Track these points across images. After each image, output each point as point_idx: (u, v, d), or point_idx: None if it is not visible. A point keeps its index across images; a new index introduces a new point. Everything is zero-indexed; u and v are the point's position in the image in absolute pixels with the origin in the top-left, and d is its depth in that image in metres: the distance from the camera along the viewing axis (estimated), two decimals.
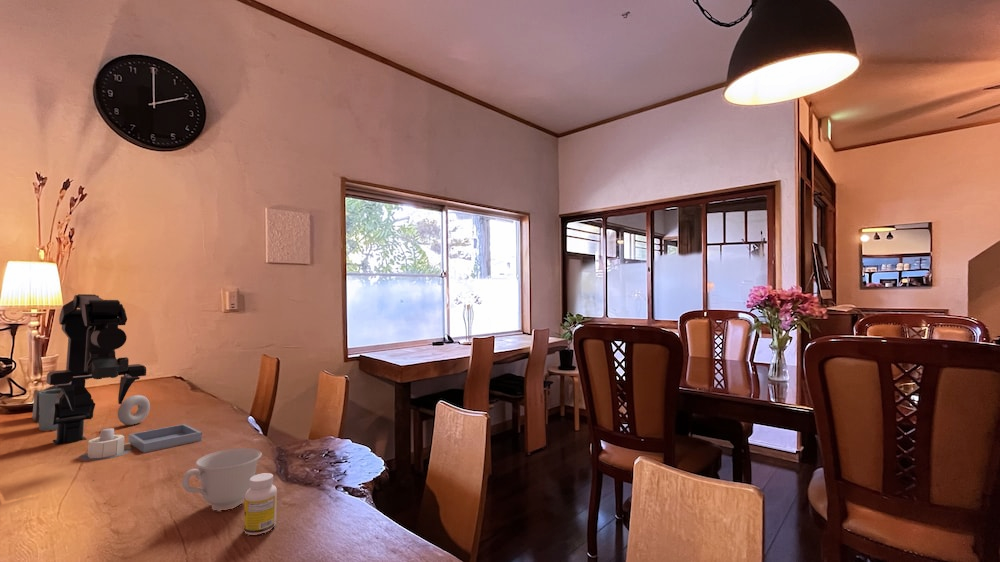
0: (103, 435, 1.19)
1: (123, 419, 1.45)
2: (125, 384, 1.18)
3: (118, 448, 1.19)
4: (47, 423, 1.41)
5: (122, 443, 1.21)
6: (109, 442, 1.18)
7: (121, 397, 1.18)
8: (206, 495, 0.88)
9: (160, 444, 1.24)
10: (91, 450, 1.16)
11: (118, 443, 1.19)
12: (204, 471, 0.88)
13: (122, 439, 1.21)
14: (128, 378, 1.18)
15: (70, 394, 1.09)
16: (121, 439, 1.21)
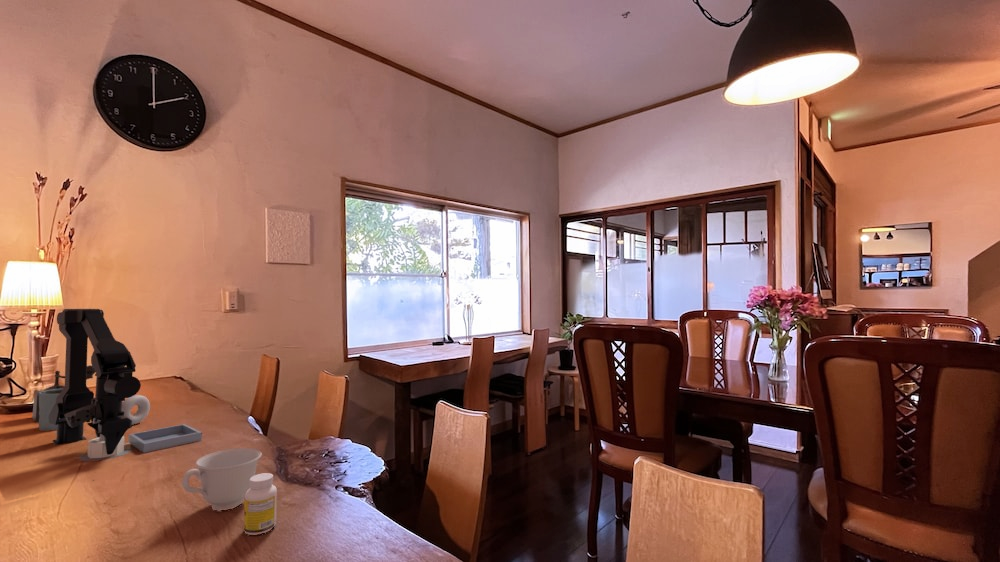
0: None
1: None
2: (103, 435, 1.16)
3: (118, 448, 1.19)
4: (47, 423, 1.41)
5: (122, 443, 1.21)
6: None
7: (106, 448, 1.17)
8: (206, 495, 0.88)
9: (160, 444, 1.24)
10: (91, 450, 1.16)
11: (118, 443, 1.19)
12: (204, 471, 0.88)
13: (122, 439, 1.21)
14: None
15: (96, 433, 1.21)
16: (121, 439, 1.21)
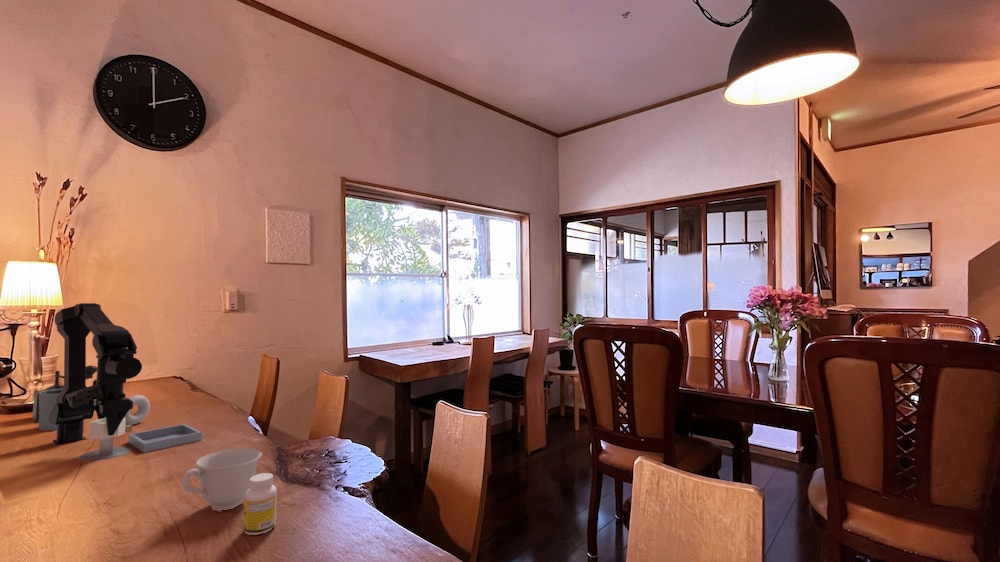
0: None
1: None
2: (105, 416, 1.16)
3: (119, 430, 1.20)
4: (47, 423, 1.41)
5: (123, 425, 1.21)
6: None
7: (107, 429, 1.17)
8: (206, 495, 0.88)
9: (160, 444, 1.24)
10: (92, 431, 1.16)
11: (119, 425, 1.20)
12: (204, 471, 0.88)
13: (123, 421, 1.21)
14: None
15: (97, 415, 1.22)
16: (122, 421, 1.21)
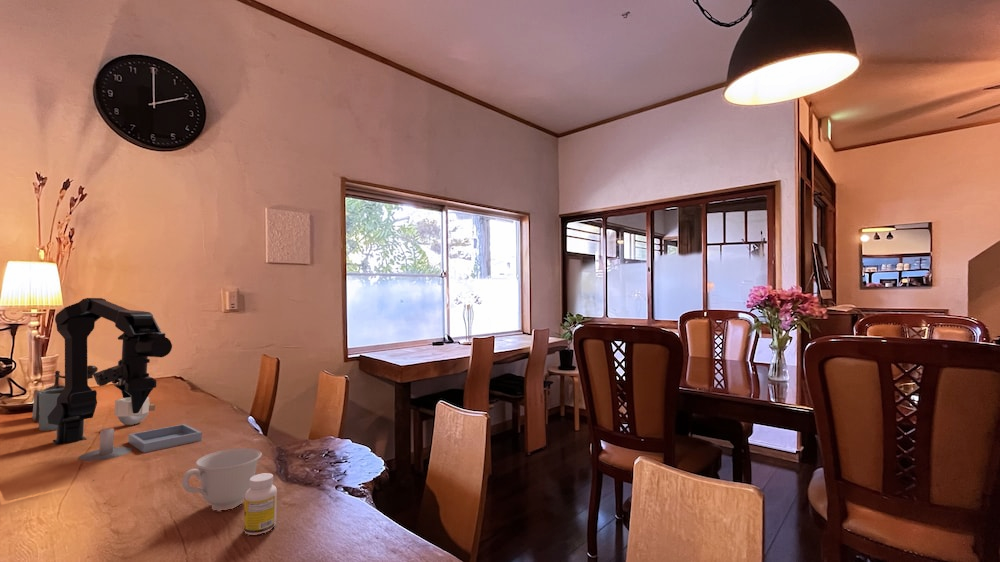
0: (103, 435, 1.19)
1: (123, 419, 1.45)
2: (130, 395, 1.20)
3: (143, 408, 1.24)
4: (47, 423, 1.41)
5: (147, 404, 1.25)
6: None
7: (132, 407, 1.21)
8: (206, 495, 0.88)
9: (160, 444, 1.24)
10: (118, 409, 1.21)
11: None
12: (204, 471, 0.88)
13: (147, 400, 1.25)
14: None
15: (122, 394, 1.26)
16: (146, 400, 1.25)
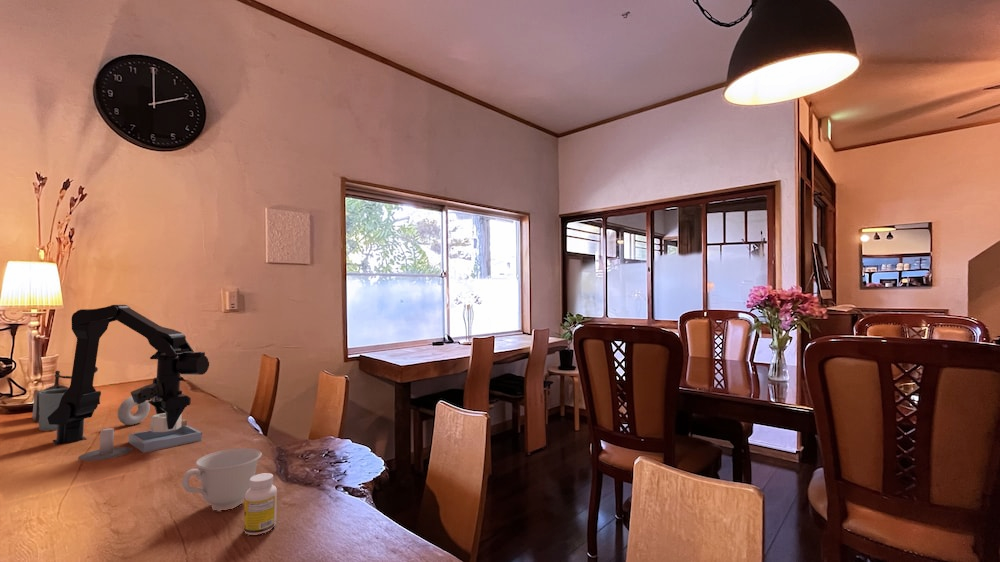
0: (103, 435, 1.19)
1: (123, 419, 1.45)
2: (165, 412, 1.27)
3: (177, 424, 1.30)
4: (47, 423, 1.41)
5: (180, 419, 1.32)
6: None
7: (167, 423, 1.28)
8: (206, 495, 0.88)
9: (160, 444, 1.24)
10: (154, 425, 1.27)
11: None
12: (204, 471, 0.88)
13: (180, 416, 1.32)
14: None
15: (156, 410, 1.32)
16: None
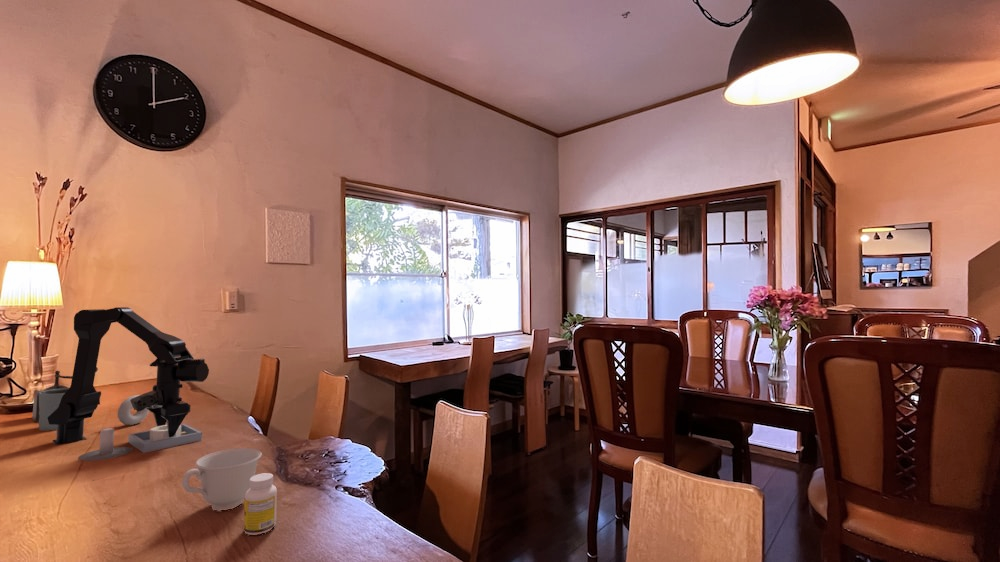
0: (103, 435, 1.19)
1: (123, 419, 1.45)
2: (166, 419, 1.26)
3: (176, 436, 1.30)
4: (47, 423, 1.41)
5: (179, 432, 1.32)
6: None
7: (168, 431, 1.27)
8: (206, 495, 0.88)
9: (160, 444, 1.24)
10: (153, 438, 1.27)
11: (176, 432, 1.30)
12: (204, 471, 0.88)
13: (179, 428, 1.32)
14: None
15: (155, 417, 1.33)
16: (179, 428, 1.31)
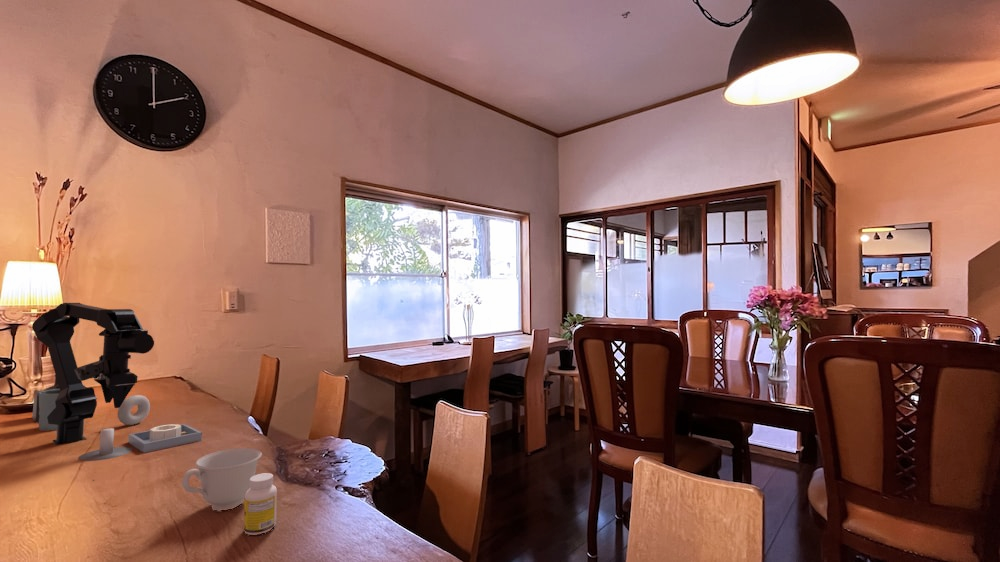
0: (103, 435, 1.19)
1: (123, 419, 1.45)
2: (111, 390, 1.24)
3: (176, 436, 1.30)
4: (47, 423, 1.41)
5: (179, 432, 1.32)
6: (169, 430, 1.28)
7: None
8: (206, 495, 0.88)
9: (160, 444, 1.24)
10: (153, 438, 1.27)
11: (176, 432, 1.30)
12: (204, 471, 0.88)
13: (179, 428, 1.32)
14: None
15: (102, 388, 1.30)
16: (179, 428, 1.31)
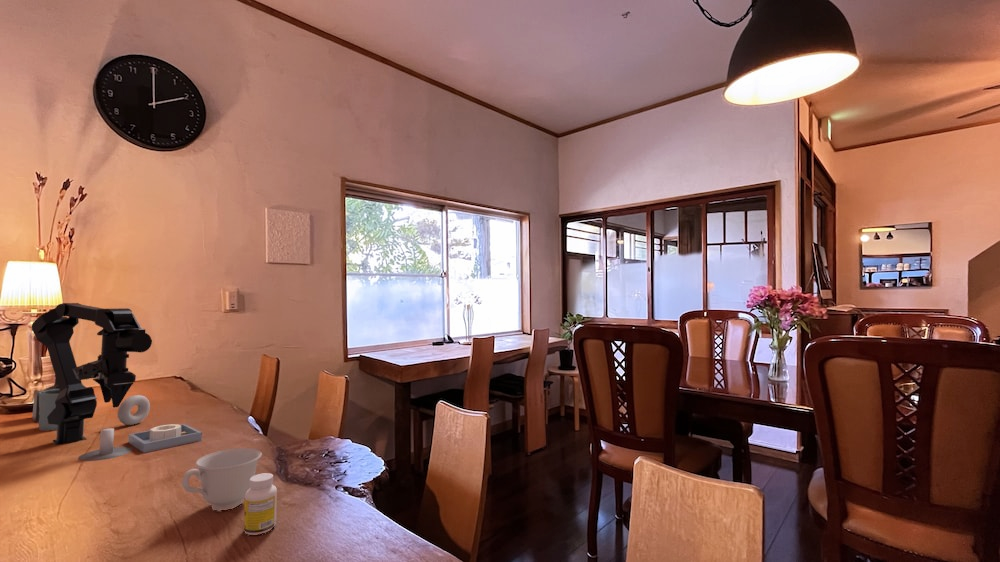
0: (103, 435, 1.19)
1: (123, 419, 1.45)
2: (110, 389, 1.23)
3: (176, 436, 1.30)
4: (47, 423, 1.41)
5: (179, 432, 1.32)
6: (169, 430, 1.28)
7: (112, 401, 1.24)
8: (206, 495, 0.88)
9: (160, 444, 1.24)
10: (153, 438, 1.27)
11: (176, 432, 1.30)
12: (204, 471, 0.88)
13: (179, 428, 1.32)
14: None
15: (101, 388, 1.30)
16: (179, 428, 1.31)
